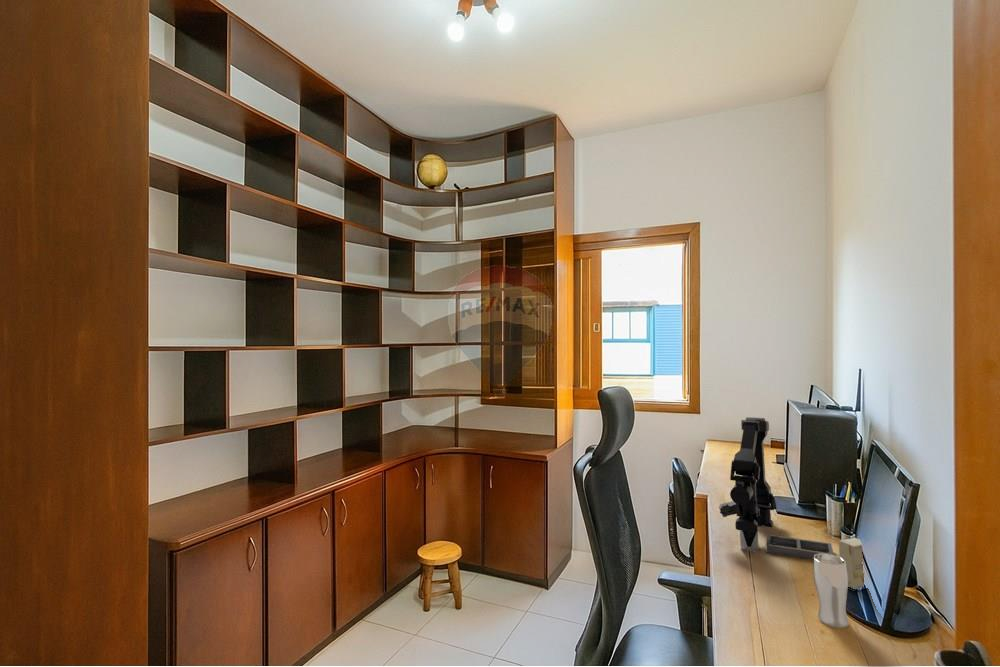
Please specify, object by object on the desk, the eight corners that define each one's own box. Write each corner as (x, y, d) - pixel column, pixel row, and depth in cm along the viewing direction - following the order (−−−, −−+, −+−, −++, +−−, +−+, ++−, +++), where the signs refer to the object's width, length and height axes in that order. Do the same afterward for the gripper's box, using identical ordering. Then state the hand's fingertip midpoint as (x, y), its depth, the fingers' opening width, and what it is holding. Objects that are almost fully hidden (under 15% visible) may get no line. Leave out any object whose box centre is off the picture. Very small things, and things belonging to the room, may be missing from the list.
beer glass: (836, 612, 120) (832, 552, 121) (858, 628, 113) (854, 564, 114) (809, 614, 120) (805, 553, 120) (829, 630, 113) (825, 566, 113)
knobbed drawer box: (741, 543, 162) (740, 523, 162) (758, 546, 160) (757, 526, 160) (740, 549, 158) (739, 528, 158) (757, 552, 155) (756, 531, 155)
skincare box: (855, 592, 129) (852, 546, 129) (840, 584, 133) (837, 540, 134) (873, 587, 131) (870, 542, 131) (857, 580, 135) (854, 536, 135)
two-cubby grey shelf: (767, 541, 163) (767, 534, 163) (831, 551, 154) (831, 543, 154) (766, 552, 155) (766, 545, 155) (834, 563, 145) (833, 555, 145)
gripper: (723, 485, 171) (725, 529, 171) (717, 501, 155) (719, 550, 155) (758, 489, 166) (761, 534, 165) (755, 506, 149) (758, 556, 149)
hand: (749, 543), depth 159 cm, fingers closed on knobbed drawer box, 5 cm apart
